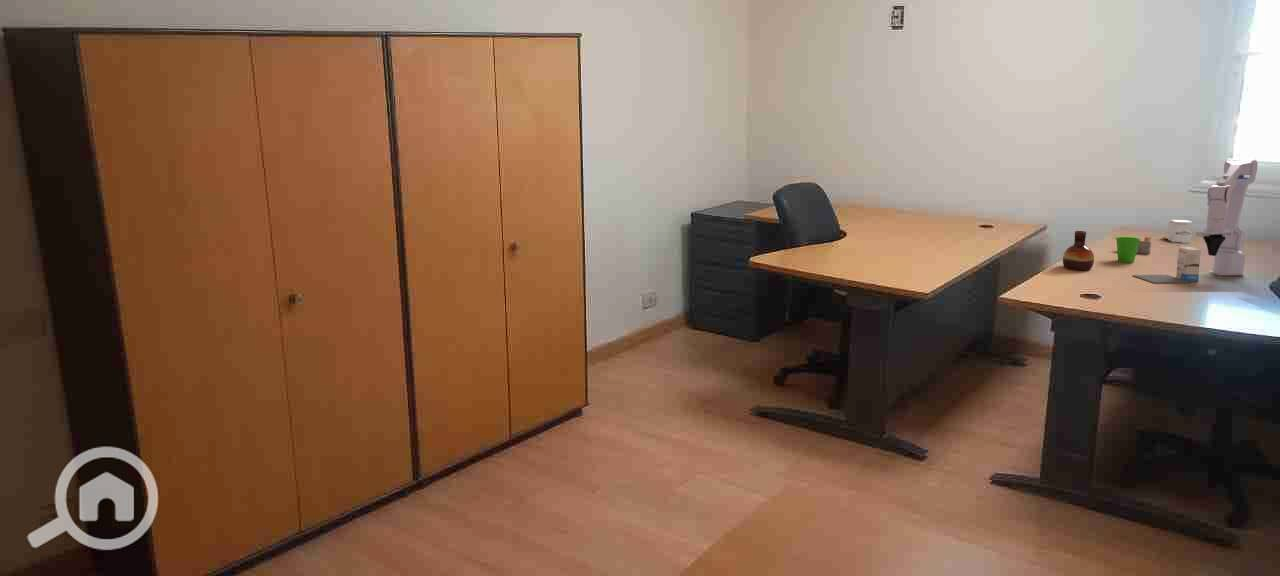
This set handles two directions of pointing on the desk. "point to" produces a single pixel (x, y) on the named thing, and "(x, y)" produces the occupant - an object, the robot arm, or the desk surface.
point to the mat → (1160, 279)
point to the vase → (1078, 254)
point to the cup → (1127, 248)
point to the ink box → (1188, 263)
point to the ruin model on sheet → (1144, 246)
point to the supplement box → (1179, 231)
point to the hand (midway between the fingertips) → (1212, 255)
